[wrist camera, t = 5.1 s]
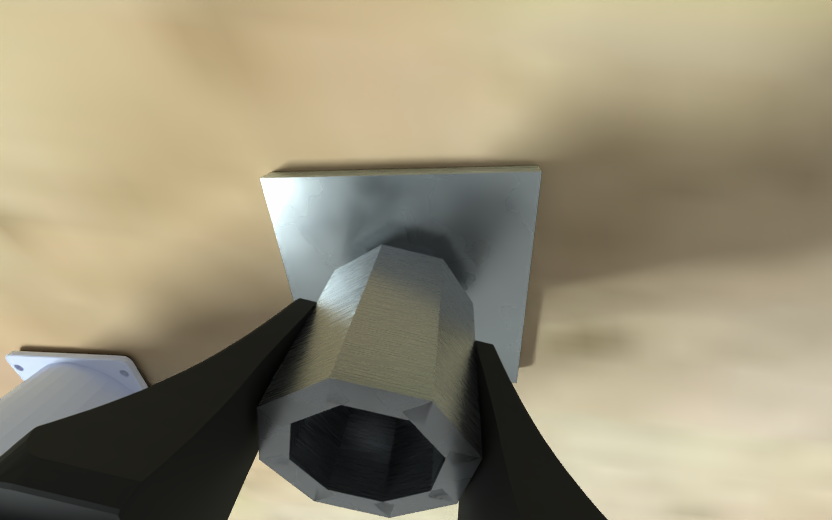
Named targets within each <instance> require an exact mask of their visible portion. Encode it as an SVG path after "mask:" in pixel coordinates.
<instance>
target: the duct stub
mask: <svg viewBox="0 0 832 520" xmlns="http://www.w3.org/2000/svg"><path fill="white" fill-rule="evenodd" d="M541 174H542V171H541V170H540V168H539V167H538V166H537V165H530V166H492V167H454V168H415V169H377V170H339V171H301V172H270V173H268V174H267V175H265V176H263V177H261V178H260V180H261V183H262V187H263V191H264V194H265V198H266V202H267V205H268V209H269V213H270V216H271V220H272V223H273V227H274V231H275V234H276V238H277V242H278V245H279V249H280V253H281V256H282V260H283V263H284V267H285V271H286V274H287V278H288V282H289V285H290V289H291V293H292V296H293V300H294V301H295V300H297V299H299V298H302V299H306V300H310V301H314V302H317V301H318V299H319V297H320V295H321V294H322V292H323V290H324V288H325V287H326V285H327V283H328V281H329V279H330V278H331V276H332V274H333V272H334V271H335V270H336V269H338V268H340V267H342V266H344V265H345V264H347V263H349V262H351V261H353V260H355V259H356V258H358V257H360V256H362V255H364V254H365V253H367V252H369V251H371V250H373V249H375V248H376V247H378V246H380V245H382V244H383V245H387V246H391V247H395V248H399V249H404V250H408V251H412V252H416V253H420V254H425V255H429V256H433V257H437V258H441V259H443V260H444V261H445V262H446V264H447V265H448V267H449V268H450V270H451V271H452V273H453V274H454V276H455V277H456V279H457V280H458V282H459V283H460V285H461V286H462V288H463V289H464V290H465V292H466V293H467V295H468V296H469V298H470V299H471V301H472V302H473V310H474V326H475V341H476V340H477V341H481V342H485V343H489V344H493V345H494V347H495V349H496V351H497V353H498V355H499V358H500V360H501V362H502V364H503V366H504V368H505V370H506V372H507V374H508V377H509V379H510V381H511V383H517V377H518V368H519V360H520V351H521V343H522V334H523V326H524V317H525V309H526V300H527V292H528V283H529V275H530V267H531V258H532V250H533V241H534V233H535V224H536V216H537V207H538V199H539V190H540V182H541Z"/></svg>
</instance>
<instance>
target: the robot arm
mask: <svg viewBox="0 0 832 520" xmlns="http://www.w3.org/2000/svg"><path fill="white" fill-rule="evenodd" d="M316 303H317V302H314V301H310V300H306V299H302V298H299V299H297V300H295V301H294V302H293V303H291V304H290V305H289V306H287V307H286V308H285V309H283V310H282V311H281V312H279V313H278V314H277V315H275V316H274V317H272V318H271V319H270V320H268V321H267V322H265V323H264V324H262V325H261V326H260V327H258V328H257V329H255V330H254V331H252V332H251V333H249V334H248V335H246V336H245V337H243V338H242V339H240V340H238V341H237V342H235V343H234V344H232V345H230V346H229V347H227V348H226V349H224V350H222V351H221V352H219V353H217V354H215V355H214V356H212V357H210V358H208V359H206V360H205V361H203V362H201V363H199V364H197V365H195V366H193V367H191V368H189V369H187V370H185V371H183V372H181V373H179V374H177V375H175V376H172V377H170V378H168V379H166V380H164V381H161V382H159V383H157V384H155V385H153V386H150V387H148V386H147V384H146V382H145V381H144V379H143V378H142V376H141V374H140V373H139V371H138V369H137V368H136V366H135V364H134V363H133V361H132V360H131V359H129V358H128V357H126V356H117V355H95V354H73V353H51V352H30V351H12V352H11V353H9V354H8V355H6V360H7V362H8V363H9V364H10V365H11V366H12V367H13V369H14V370H15V371H16V372H17V373H18V375H19V376H20V377H21V378H22V379H23V380H24V382H22V383H21V384H19V385H18V386H17V387H15V388H14V389H13V390H11V391H10V392H9V393H7V394H6V395H4V396H3V397H2V398H0V520H228V517H229V515H230V513H231V510H232V508H233V506H234V504H235V501H236V499H237V497H238V495H239V492H240V490H241V488H242V485H243V483H244V481H245V479H246V476H247V474H248V472H249V470H250V468H251V466H252V463H253V461H254V459H255V457H256V455H257V452H258V450H259V441H258V415H257V407H258V405H259V403H260V402H261V400H262V398H263V396H264V394H265V393H266V391H267V389H268V387H269V386H270V384H271V382H272V380H273V379H274V377H275V375H276V373H277V371H278V370H279V368H280V366H281V364H282V363H283V361H284V359H285V357H286V356H287V354H288V352H289V350H290V348H291V347H292V345H293V343H294V341H295V340H296V338H297V336H298V334H299V333H300V331H301V329H302V327H303V325H304V324H305V322H306V320H307V318H308V317H309V315H310V313H311V311H312V310H313V308H314V306H315V304H316ZM475 343H476V364H477V376H478V392H479V409H480V425H481V442H482V460H481V462H480V464H479V465H478V467H477V469H476V471H475V473H474V474H473V476H472V478H471V480H470V481H469V483H468V485H467V487H466V489H465V490H464V492H463V494H462V496H461V497H460V499H459V509H458V520H607V519H606V517H605V516H604V515H603V514H602V513H601V512H600V511H599V510H598V508H597V507H596V506H595V505H594V504H593V503H592V501H591V500H590V499H589V498H588V497H587V496H586V494H585V493H584V492H583V491H582V489H581V488H580V487H579V486H578V484H577V483H576V482H575V481H574V479H573V478H572V477H571V476H570V474H569V473H568V472H567V471H566V469H565V468H564V467H563V465H562V464H561V463H560V461H559V460H558V459H557V457H556V456H555V454H554V453H553V451H552V450H551V449H550V447H549V446H548V444H547V443H546V441H545V440H544V438H543V437H542V435H541V434H540V432H539V430H538V429H537V427H536V426H535V424H534V422H533V421H532V419H531V417H530V416H529V414H528V412H527V410H526V409H525V407H524V405H523V403H522V402H521V400H520V398H519V396H518V394H517V392H516V390H515V388H514V387H513V385H512V383H511V381H510V379H509V377H508V374H507V372H506V370H505V368H504V366H503V364H502V362H501V360H500V358H499V355H498V353H497V351H496V349H495V347H494V345H493V344H489V343H485V342H481V341H477V340H476V341H475Z"/></svg>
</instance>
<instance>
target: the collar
mask: <svg viewBox="0 0 832 520" xmlns="http://www.w3.org/2000/svg"><path fill="white" fill-rule="evenodd" d="M257 415H258V441H259V460H261V461H262V462H263V463H265V464H266V465H267V466H269V467H270V468H271V469H272V470H274V471H275V472H276V473H278V474H279V475H280V476H282V477H283V478H284V479H286V480H287V481H288V482H290V483H291V484H292V485H294V486H295V487H296V488H298V489H299V490H300V491H301V492H303V493H304V494H305V495H307V496H308V497H309V498H311V499H312V500H313V501H316V502H321V503H325V504H330V505H334V506H339V507H343V508H348V509H352V510H357V511H361V512H366V513H370V514H375V515H379V516H384V517H388V518H391V517H395V516H400V515H405V514H410V513H415V512H419V511H424V510H429V509H434V508H439V507H443V506H448V505H453V504H457V503H458V501H459V499H460V497H461V496H462V494H463V492H464V490H465V489H466V487H467V485H468V483H469V481H470V480H471V478H472V476H473V474H474V473H475V471H476V469H477V467H478V465H479V464H480V462H481V460H482V442H481V425H480V409H479V392H478V376H477V364H476V343H475V326H474V310H473V302H472V301H471V299H470V298H469V296H468V295H467V293H466V292H465V290H464V289H463V288H462V286H461V285H460V283H459V282H458V280H457V279H456V277H455V276H454V274H453V273H452V271H451V270H450V268H449V267H448V265H447V264H446V262H445V261H444V260H443V259H441V258H437V257H433V256H429V255H425V254H420V253H416V252H412V251H408V250H404V249H399V248H395V247H391V246H387V245H383V244H382V245H380V246H378V247H376V248H375V249H373V250H371V251H369V252H367V253H365V254H364V255H362V256H360V257H358V258H356V259H355V260H353V261H351V262H349V263H347V264H345V265H344V266H342V267H340V268H338V269H336V270H335V271H334V272H333V274H332V276H331V278H330V279H329V281H328V283H327V285H326V287H325V288H324V290H323V292H322V294H321V295H320V297H319V299H318V301H317V303H316V304H315V306H314V308H313V310H312V311H311V313H310V315H309V317H308V318H307V320H306V322H305V324H304V325H303V327H302V329H301V331H300V333H299V334H298V336H297V338H296V340H295V341H294V343H293V345H292V347H291V348H290V350H289V352H288V354H287V356H286V357H285V359H284V361H283V363H282V364H281V366H280V368H279V370H278V371H277V373H276V375H275V377H274V379H273V380H272V382H271V384H270V386H269V387H268V389H267V391H266V393H265V394H264V396H263V398H262V400H261V402H260V403H259V405H258V407H257Z"/></svg>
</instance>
